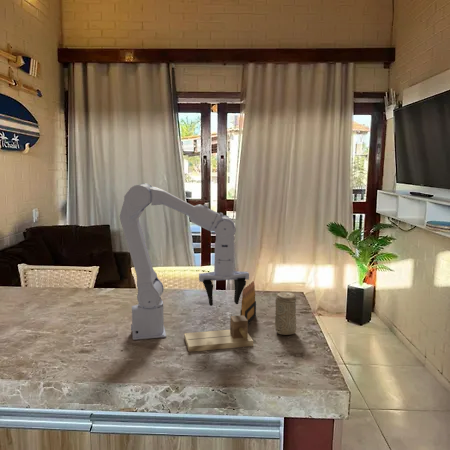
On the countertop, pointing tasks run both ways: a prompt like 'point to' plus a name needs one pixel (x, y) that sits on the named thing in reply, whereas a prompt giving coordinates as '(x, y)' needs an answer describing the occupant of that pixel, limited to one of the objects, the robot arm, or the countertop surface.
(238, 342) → the board
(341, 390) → the countertop surface
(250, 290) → the ammunition clip
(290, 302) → the carving
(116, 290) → the countertop surface
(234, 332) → the mallet
